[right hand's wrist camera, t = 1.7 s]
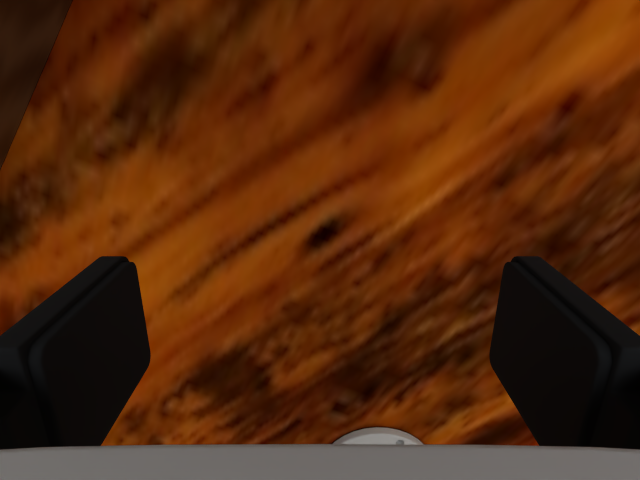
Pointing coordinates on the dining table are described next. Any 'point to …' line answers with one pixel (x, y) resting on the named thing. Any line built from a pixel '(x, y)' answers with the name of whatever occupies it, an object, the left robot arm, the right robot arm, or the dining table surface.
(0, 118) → the bar
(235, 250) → the dining table surface
